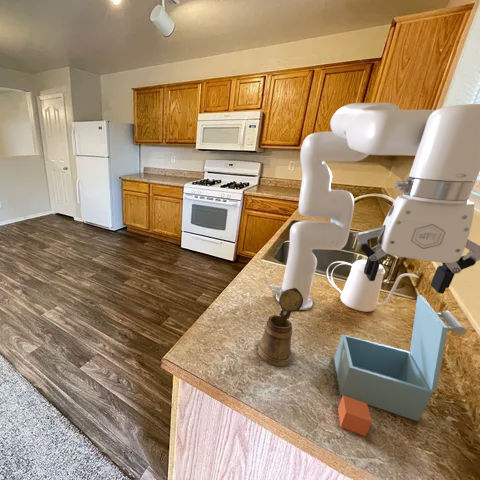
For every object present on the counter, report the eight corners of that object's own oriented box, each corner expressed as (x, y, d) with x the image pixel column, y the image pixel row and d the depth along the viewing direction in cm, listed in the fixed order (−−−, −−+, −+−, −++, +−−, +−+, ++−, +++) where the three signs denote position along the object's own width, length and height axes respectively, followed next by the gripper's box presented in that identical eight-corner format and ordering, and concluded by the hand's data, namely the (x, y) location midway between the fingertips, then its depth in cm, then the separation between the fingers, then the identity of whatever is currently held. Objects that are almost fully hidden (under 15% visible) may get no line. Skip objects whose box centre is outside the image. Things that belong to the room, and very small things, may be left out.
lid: (442, 327, 50) (478, 331, 48) (417, 294, 61) (446, 296, 59) (431, 390, 55) (464, 396, 53) (409, 350, 65) (436, 353, 63)
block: (340, 427, 57) (345, 412, 55) (337, 409, 61) (342, 395, 59) (365, 436, 55) (372, 422, 53) (361, 417, 59) (367, 403, 57)
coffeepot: (400, 327, 87) (420, 277, 80) (317, 296, 104) (328, 253, 97) (403, 313, 94) (422, 265, 87) (325, 286, 111) (336, 245, 104)
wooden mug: (300, 345, 79) (313, 293, 73) (283, 371, 70) (296, 315, 64) (271, 331, 85) (280, 282, 79) (252, 353, 76) (260, 300, 70)
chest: (340, 395, 64) (349, 367, 61) (334, 358, 74) (341, 333, 71) (418, 421, 58) (433, 392, 55) (399, 378, 68) (411, 351, 65)
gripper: (376, 189, 43) (349, 282, 49) (532, 199, 36) (479, 306, 42) (365, 183, 49) (343, 266, 55) (496, 191, 42) (454, 284, 48)
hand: (401, 283), depth 49 cm, fingers open, 9 cm apart
